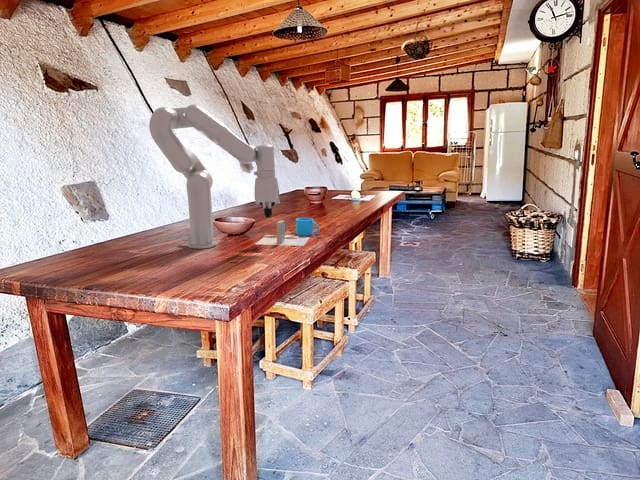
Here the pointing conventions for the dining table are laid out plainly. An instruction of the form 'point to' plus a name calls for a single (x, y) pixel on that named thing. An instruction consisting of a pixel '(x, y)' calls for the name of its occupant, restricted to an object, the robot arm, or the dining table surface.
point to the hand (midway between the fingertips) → (268, 217)
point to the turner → (285, 236)
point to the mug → (305, 226)
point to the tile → (280, 231)
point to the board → (273, 241)
